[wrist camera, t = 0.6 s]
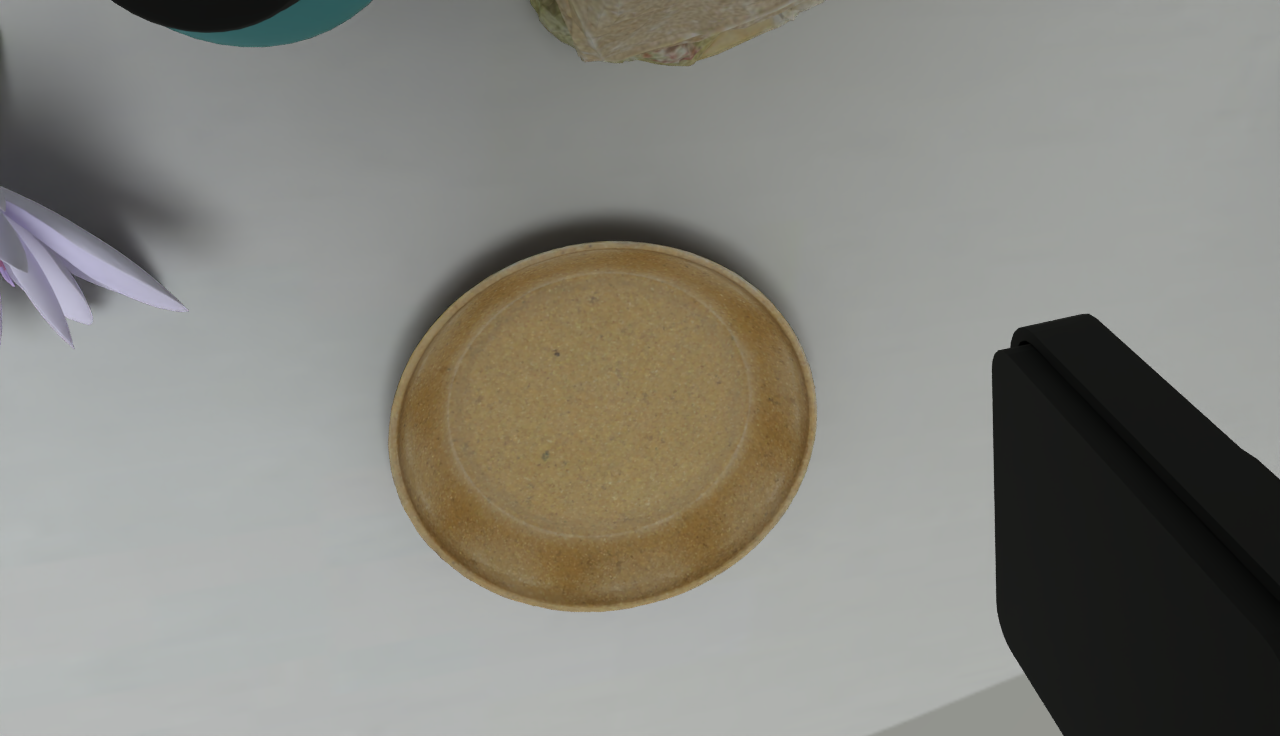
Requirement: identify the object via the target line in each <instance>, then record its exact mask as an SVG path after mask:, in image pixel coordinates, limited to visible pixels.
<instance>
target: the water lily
mask: <svg viewBox="0 0 1280 736" xmlns="http://www.w3.org/2000/svg"><path fill="white" fill-rule="evenodd" d="M0 272H1V274H2V276H3V277H4V279H5V280H6V281H7V282H8V283H10V285H11V286H13V287H15V285H14V283H13V281H14V282H15V283H16V284H17V285H18V286H19V287H20V288H21V289H22V290H23V291H25V293H26V294H27V296H28V297H29V299H30V300H31V302H32V303H33V304H34V306H35V307H36V309H37V310H38V311H39V313H40V314H41V315H42V317H43V318H44V319H45V320H46V321H47V323H48V324H49V325H50V326H51V327H52V328H53V329H54V331H55V332H56V333H57V334H58V335H59V336H60V337H61V338H62V339H63V340H64V341H65V342H66V343H68V344H69V345H70V346H71V347H72V348H73V349H75V348H74V345H73V342H72V338H71V334H70V331H69V328H68V325H67V322H66V319H65V317H67V318H69V319H72V320H74V321H77V322H80V323H83V324H87V325H90V324H92V322H93V315H92V312H91V309H90V307H89V304H88V302H87V300H86V298H85V296H84V294H83V292H82V290H81V289H80V287H79V285H78V284H77V282H76V280H75V279H74V277H73V276H72V274H73V275H75V276H77V277H79V278H82V279H84V280H86V281H88V282H91V283H93V284H95V285H98V286H100V287H103V288H106V289H109V290H112V291H115V292H118V293H121V294H123V295H125V296H128V297H130V298H132V299H135V300H137V301H140V302H142V303H145V304H148V305H151V306H154V307H158V308H162V309H166V310H171V311H178V312H188V311H189V310H188V309H187V308H186V307H185V306H184V305H183V304H182V303H181V302H180V301H179V300H178V299H177V298H176V297H175V296H174V295H172V294H171V293H170V292H169V291H168V290H167V289H166V288H165V287H164V286H162V285H161V284H160V283H159V282H158V281H157V280H156V279H154V278H153V277H152V276H151V275H149V274H148V273H147V272H146V271H145V270H143V269H142V268H141V267H139V266H138V265H137V264H135V263H134V262H133V261H131V260H130V259H129V258H127V257H126V256H125V255H123V254H122V253H120V252H119V251H117V250H116V249H114V248H113V247H111V246H110V245H108V244H107V243H105V242H104V241H102V240H101V239H99V238H97V237H96V236H94V235H93V234H91V233H89V232H88V231H86V230H84V229H83V228H81V227H80V226H78V225H76V224H75V223H73V222H71V221H70V220H68V219H66V218H65V217H63V216H61V215H59V214H58V213H56V212H54V211H52V210H50V209H48V208H47V207H45V206H43V205H41V204H39V203H37V202H35V201H33V200H31V199H28V198H26V197H24V196H22V195H20V194H18V193H15V192H13V191H11V190H9V189H7V188H4V187H2V186H0ZM11 279H12V280H13V281H12V280H11ZM1 336H2V304H1V294H0V345H1Z"/></svg>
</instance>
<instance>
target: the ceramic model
mask: <svg viewBox="0 0 1280 736" xmlns="http://www.w3.org/2000/svg"><path fill="white" fill-rule="evenodd" d="M824 1H825V0H530V2H531V5H532V6H533V8H534V9H535V10H536V12H537V13H538V15H539V21H540V22H541V23H542V24H543V25H544V26H545V28H546V29H547V30H548V31H549V32H550V33H552V34H553V35H554V36H555V37H556V38H558V39H559V40H560V41H561V42H564V43H566V44H568V45H570V46H572V47H573V48H575V49H576V51H577V54H578V56H579V57H580V58H581V60H582V61H584V62H589V61H603V62H610V63H623V62H624V61H634V60H641V61H646V62H650V63H654V64H660V65H668V66H691V65H692V64H694V63H695V62H696V61H698V60H701V59H704V58H708V57H711V56H714V55H717V54H719V53H721V52H724V51H726V50H728V49H730V48H732V47H734V46H737V45H739V44H741V43H743V42H745V41H747V40H750V39H752V38H754V37H756V36H758V35H761V34H763V33H765V32H767V31H770V30H773V29H776V28H778V27H781V26H782V25H784V24H785V23H787V22H788V21H794V20H795V18H796V17H797V15H798V14H799V12H803V11H806V10H809V9H810V8H812V7H814V6H816V5H818V4H820V3H823V2H824Z"/></svg>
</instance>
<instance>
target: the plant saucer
mask: <svg viewBox="0 0 1280 736" xmlns="http://www.w3.org/2000/svg"><path fill="white" fill-rule="evenodd" d="M816 421H817V403H816V394H815V386H814V383H813V378H812V372H811V369H810V366H809V363H808V362H807V358H806V355H805V353H804V351H803V348H802V346H801V344H800V342H799V340H798V338H797V337H796V335H795V333H794V331H793V330H792V328H791V327H790V325H789V324H788V322H787V321H786V320H785V318H784V317H783V316H782V314H781V313H780V312H779V311H778V310H777V309H776V307H775V306H774V304H773V303H772V302H771V301H770V300H769V299H768V298H767V297H766V296H764V295H763V294H762V292H761V291H759V290H758V289H757V288H755V287H754V286H753V285H752V284H750V283H749V282H747V281H746V280H745V279H743V278H742V277H741V276H739V275H738V274H736V273H735V272H733V271H731V270H729V269H727V268H725V267H723V266H721V265H720V264H717V263H715V262H713V261H711V260H709V259H706V258H704V257H702V256H699V255H696V254H694V253H691V252H688V251H684V250H681V249H677V248H673V247H668V246H664V245H659V244H652V243H645V242H634V241H599V242H589V243H582V244H575V245H569V246H565V247H561V248H557V249H553V250H550V251H546V252H542V253H539V254H536V255H533V256H531V257H528V258H525V259H523V260H520V261H518V262H516V263H514V264H512V265H510V266H508V267H506V268H504V269H502V270H500V271H498V272H496V273H494V274H493V275H491V276H489V277H487V278H486V279H484V280H483V281H481V282H480V283H478V284H477V285H475V286H474V287H473V288H471V289H470V290H468V291H467V292H466V293H464V294H463V295H462V296H461V297H460V298H458V299H457V300H456V301H455V302H454V303H453V304H452V305H451V306H450V307H449V308H448V309H447V310H446V311H445V312H444V313H443V314H442V315H441V316H440V317H439V318H438V319H437V320H436V322H435V323H434V324H433V325H432V326H431V327H430V329H429V330H428V331H427V333H426V334H425V335H424V337H423V338H422V340H421V341H420V342H419V344H418V345H417V347H416V348H415V350H414V352H413V353H412V355H411V357H410V359H409V361H408V363H407V365H406V367H405V369H404V371H403V374H402V376H401V379H400V382H399V384H398V388H397V390H396V393H395V397H394V401H393V405H392V409H391V416H390V425H389V437H388V448H389V459H390V466H391V472H392V476H393V480H394V483H395V486H396V489H397V493H398V495H399V498H400V501H401V504H402V505H403V507H404V510H405V511H406V513H407V515H408V516H409V518H410V520H411V522H412V523H413V525H414V526H415V528H416V530H417V532H418V533H419V534H420V536H421V537H422V538H423V539H424V541H425V542H426V543H427V544H428V546H429V547H430V548H432V549H433V550H434V551H435V552H436V553H437V554H438V555H439V556H440V558H442V559H443V560H444V561H445V562H447V563H448V564H449V565H450V566H451V567H453V568H454V569H455V570H457V571H458V572H459V573H460V574H462V575H463V576H464V577H466V578H467V579H469V580H471V581H473V582H475V583H477V584H478V585H480V586H482V587H484V588H486V589H488V590H490V591H492V592H494V593H496V594H498V595H500V596H503V597H505V598H508V599H511V600H514V601H518V602H522V603H526V604H529V605H532V606H539V607H543V608H547V609H551V610H559V611H570V612H592V611H593V612H605V611H614V610H621V609H628V608H633V607H637V606H641V605H645V604H650V603H654V602H657V601H661V600H665V599H668V598H671V597H674V596H676V595H679V594H682V593H684V592H687V591H689V590H691V589H693V588H695V587H697V586H699V585H701V584H703V583H705V582H707V581H709V580H711V579H712V578H714V577H715V576H716V575H718V574H720V573H722V572H724V571H725V570H727V569H728V568H729V567H731V566H732V565H734V564H735V563H736V562H738V561H739V560H740V559H742V558H743V557H744V556H746V555H747V554H748V553H749V552H750V551H751V550H752V549H754V548H755V547H756V546H757V545H758V544H759V543H760V542H761V541H762V540H763V539H764V538H765V536H766V535H767V534H768V533H769V532H770V530H771V529H773V528H774V526H775V525H776V524H777V523H778V522H779V520H780V519H781V517H782V516H783V515H784V513H785V512H786V510H787V509H788V507H789V505H790V504H791V502H792V500H793V498H794V497H795V495H796V493H797V491H798V489H799V487H800V485H801V482H802V480H803V478H804V475H805V473H806V471H807V467H808V464H809V461H810V457H811V453H812V449H813V445H814V441H815V432H816Z"/></svg>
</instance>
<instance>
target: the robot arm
mask: <svg viewBox="0 0 1280 736" xmlns="http://www.w3.org/2000/svg"><path fill="white" fill-rule="evenodd" d="M992 398H993V449H994V501H995V553H996V603H997V613H998V617H999V622H1000V626H1001V629H1002V632H1003V635H1004V637H1005V640H1006V642H1007V644H1008V646H1009V648H1010V650H1011V652H1012V653H1013V655H1014V657H1015V658H1016V660H1017V661H1018V663H1019V665H1020V666H1021V668H1022V670H1023V671H1024V673H1025V674H1026V676H1027V678H1028V679H1029V680H1030V682H1031V684H1032V686H1033V687H1034V689H1035V690H1036V692H1037V694H1038V695H1039V697H1040V699H1041V700H1042V702H1043V703H1044V705H1045V707H1046V708H1047V710H1048V711H1049V713H1050V714H1051V716H1052V718H1053V719H1054V721H1055V723H1056V724H1057V726H1058V727H1059V729H1060V731H1061V732H1062V734H1063V735H1064V736H1280V479H1279V478H1278V477H1277V476H1275V475H1274V474H1273V473H1272V472H1271V471H1270V470H1269V469H1268V468H1266V467H1265V466H1264V465H1263V464H1262V463H1261V462H1260V461H1259V460H1258V459H1256V458H1255V457H1253V456H1252V455H1250V454H1249V453H1247V452H1246V451H1244V450H1243V449H1241V448H1240V447H1239V446H1238V445H1237V444H1236V443H1234V442H1233V441H1232V440H1231V439H1230V438H1229V437H1228V436H1227V435H1226V434H1224V433H1223V432H1222V431H1221V430H1220V429H1219V428H1218V427H1217V426H1216V425H1214V424H1213V423H1212V422H1211V421H1210V420H1209V419H1208V418H1207V417H1206V416H1204V415H1203V414H1202V413H1201V412H1200V411H1199V410H1198V409H1197V408H1196V407H1194V406H1193V405H1192V404H1191V403H1190V402H1189V401H1188V400H1187V399H1186V398H1184V397H1183V396H1182V395H1181V394H1180V393H1179V392H1178V391H1177V390H1176V389H1174V388H1173V387H1172V386H1171V385H1170V384H1169V383H1168V382H1167V381H1166V380H1164V379H1163V378H1162V377H1161V376H1160V375H1159V374H1158V373H1157V372H1156V371H1154V370H1153V369H1152V368H1151V367H1150V366H1149V365H1148V364H1147V363H1146V362H1144V361H1143V360H1142V359H1141V358H1140V357H1139V356H1138V355H1137V354H1136V353H1134V352H1133V351H1132V350H1131V349H1130V348H1129V347H1128V346H1127V345H1126V344H1124V343H1123V342H1122V341H1121V340H1120V339H1119V338H1118V337H1117V336H1116V335H1114V334H1113V333H1112V332H1111V331H1110V330H1109V329H1108V328H1107V327H1106V326H1104V325H1103V324H1102V323H1101V322H1100V321H1099V320H1098V319H1097V318H1095V317H1093V316H1092V315H1090V314H1080V315H1076V316H1071V317H1066V318H1062V319H1057V320H1053V321H1048V322H1044V323H1039V324H1034V325H1030V326H1025V327H1021V328H1018V329H1017V330H1016V331H1015V332H1014V334H1013V337H1012V340H1011V348H1008V349H1003V350H998V351H997V352H996V353H995V355H994V358H993V362H992Z"/></svg>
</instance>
